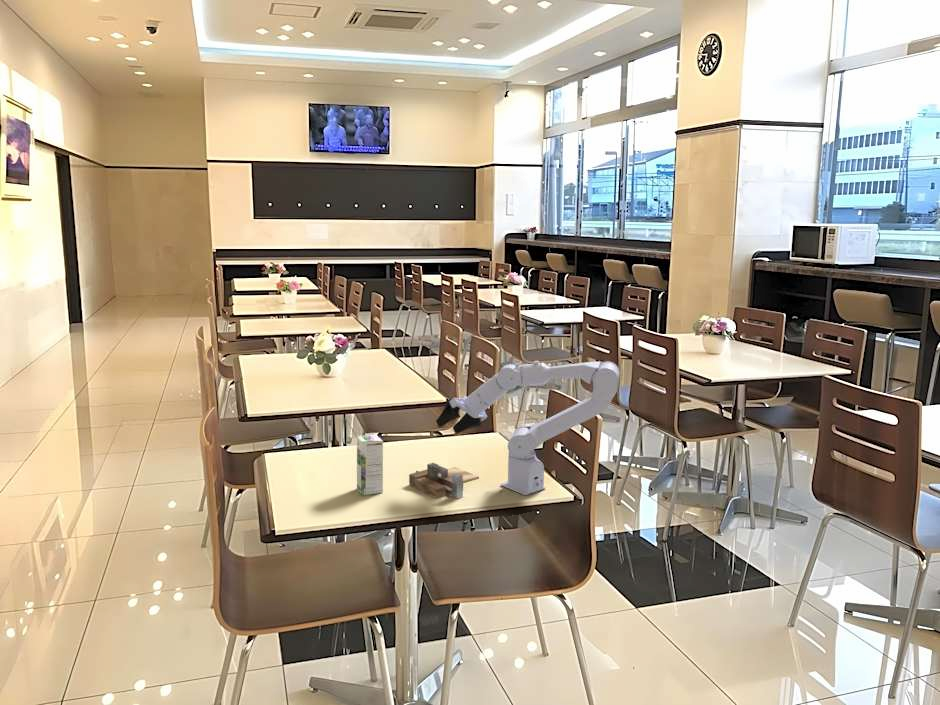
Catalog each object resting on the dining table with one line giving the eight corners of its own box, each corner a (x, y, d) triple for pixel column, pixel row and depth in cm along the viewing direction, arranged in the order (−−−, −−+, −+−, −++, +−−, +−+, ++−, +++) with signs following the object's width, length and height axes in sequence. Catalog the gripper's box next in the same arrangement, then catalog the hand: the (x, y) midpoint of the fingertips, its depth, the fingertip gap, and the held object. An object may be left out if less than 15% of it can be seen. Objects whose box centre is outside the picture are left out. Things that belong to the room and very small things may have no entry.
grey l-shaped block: (462, 497, 199) (462, 474, 198) (456, 498, 198) (456, 476, 196) (445, 489, 204) (445, 467, 203) (439, 491, 203) (439, 469, 202)
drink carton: (356, 488, 204) (355, 435, 201) (377, 485, 206) (377, 433, 203) (362, 496, 199) (361, 442, 196) (384, 493, 201) (383, 439, 198)
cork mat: (478, 478, 213) (478, 476, 213) (456, 484, 208) (456, 483, 207) (455, 468, 220) (455, 467, 220) (433, 474, 215) (433, 473, 215)
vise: (463, 489, 204) (463, 468, 203) (437, 497, 198) (437, 475, 197) (429, 475, 214) (429, 454, 213) (404, 482, 209) (403, 461, 208)
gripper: (492, 393, 212) (456, 422, 216) (462, 378, 201) (425, 409, 205) (502, 413, 208) (465, 442, 212) (472, 398, 197) (434, 429, 201)
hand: (446, 427), depth 208 cm, fingers open, 7 cm apart
